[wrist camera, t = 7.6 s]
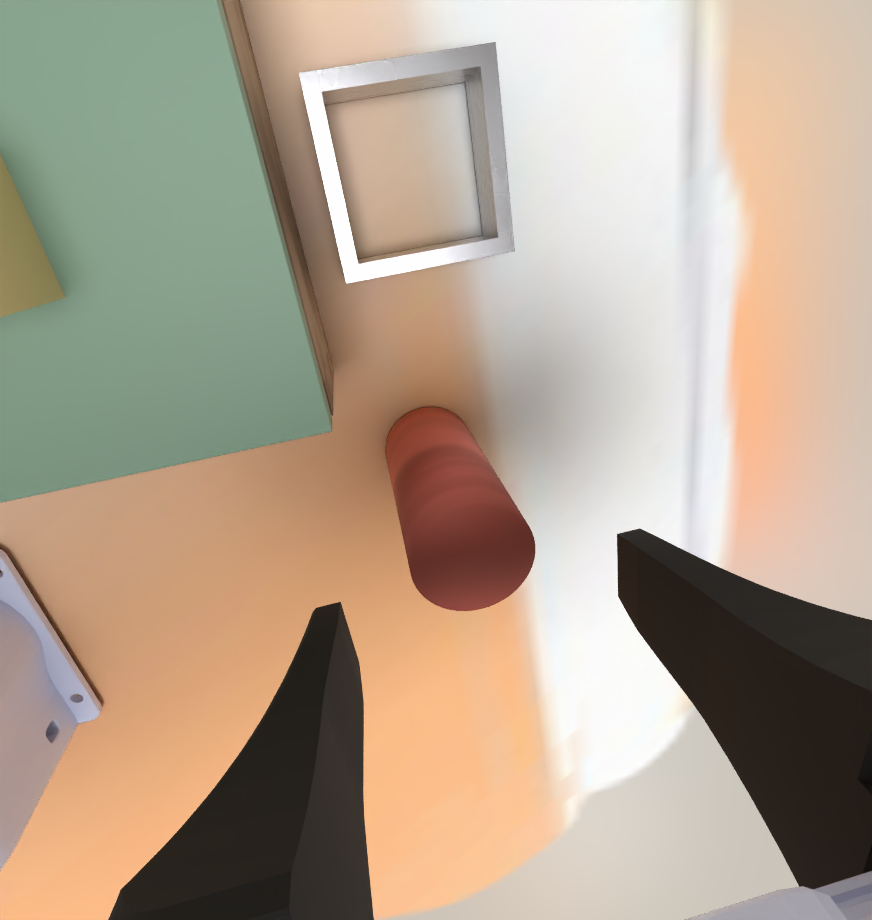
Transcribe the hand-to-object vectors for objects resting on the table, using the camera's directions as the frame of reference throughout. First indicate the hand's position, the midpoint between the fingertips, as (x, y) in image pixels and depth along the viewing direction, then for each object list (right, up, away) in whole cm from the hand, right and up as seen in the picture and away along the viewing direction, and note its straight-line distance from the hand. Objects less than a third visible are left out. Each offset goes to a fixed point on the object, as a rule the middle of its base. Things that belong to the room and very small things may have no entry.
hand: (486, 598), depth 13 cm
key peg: (-2, +4, +9) cm, 10 cm away
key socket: (-2, +13, +4) cm, 14 cm away
